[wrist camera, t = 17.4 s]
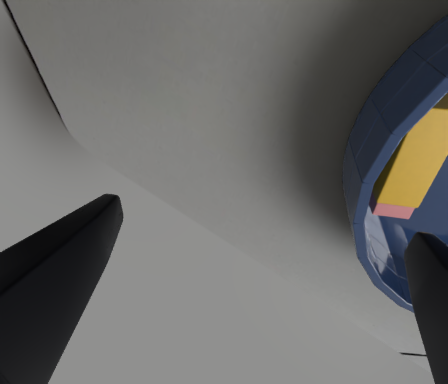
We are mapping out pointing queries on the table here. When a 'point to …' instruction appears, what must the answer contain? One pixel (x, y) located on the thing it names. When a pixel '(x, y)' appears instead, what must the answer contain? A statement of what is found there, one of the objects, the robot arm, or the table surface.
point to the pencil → (412, 165)
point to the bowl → (380, 154)
